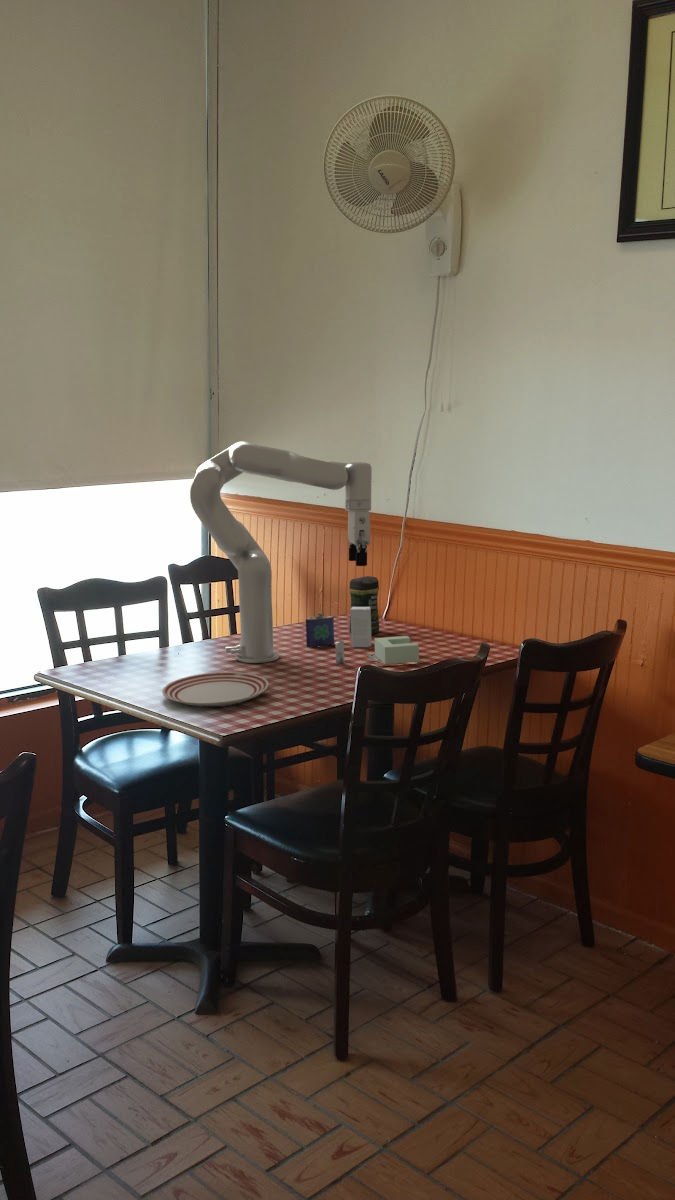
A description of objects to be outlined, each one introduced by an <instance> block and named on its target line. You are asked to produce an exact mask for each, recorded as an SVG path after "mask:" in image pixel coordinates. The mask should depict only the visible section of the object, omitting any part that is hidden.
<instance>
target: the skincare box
mask: <svg viewBox="0 0 675 1200" xmlns="http://www.w3.org/2000/svg"><path fill="white" fill-rule="evenodd" d="M350 614H351V633H350V634H351V637H350V638H351V640H350V641H351V648H369V647H368V646H371V647H372V644H373V643H372V642H373V641H372V640H373V639H372V635H371V607H352V608H351V607H350Z"/></svg>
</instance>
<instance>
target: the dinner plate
mask: <svg viewBox="0 0 675 1200" xmlns="http://www.w3.org/2000/svg"><path fill="white" fill-rule="evenodd" d="M269 686H270V685H269V681H268V679H266V678H265V677H263V676H260V675H257V674H253V673H248V672H247V673H246V672H239V671H236V672H235V671H218V672H217V671H214V672H204V673H199V674H193V675H190V676H185V677H182V678H177V679H175V680H172V681H171V682H170V683H167V684H166V685H165V686H164V687H163V688H162V691H161V692H162V695H163V697H165V698H166V699H168V700H171V701H174V702H176V703H179V704H184V705H188V706H192V705H194V706H193V707H199V706H221V707H226V706H225V705H229V706H233V705H232V704H234V705H237V704H236V703H238V704H241V703H243V701H244V702H246V701H249V700H251V699H254V698H256V697H258V696H260V695H261V694H263V693H264V692H265V691H266V690H267V689H268V688H269ZM240 702H241V703H240Z"/></svg>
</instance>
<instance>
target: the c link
mask: <svg viewBox="0 0 675 1200" xmlns="http://www.w3.org/2000/svg"><path fill="white" fill-rule="evenodd" d="M374 654H375V655H376V656H377V657H378V658H379V659H380V660H381V661H382V662H383V663H385V664H395V663H405V662H419V660H420V645H419V644H418V643H417V642H411V637H409V636H408V635H401V636H390V637H389V636H388V637H385V636H384V637H375V638H374Z"/></svg>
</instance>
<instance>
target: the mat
mask: <svg viewBox="0 0 675 1200" xmlns="http://www.w3.org/2000/svg"><path fill="white" fill-rule="evenodd" d="M371 654H372V653H370V654H366V655H367V656H368V657H369V658H370V659H371V660H375V659H374V658H376V659H379V658H378V657H377V656H376V655H373V656H371ZM367 656H366V657H367ZM368 657H367V658H368ZM369 658H368V659H369ZM370 659H369V660H370ZM371 660H370V661H371ZM376 661H378V660H376ZM378 662H381V661H378ZM374 663H376V665H375V666H376V667H377V666H380V665H378V663H377V662H374ZM374 663H373V664H374ZM381 663H383V662H381ZM417 663H422V664H423V662H422V661H421V660H420V662H417ZM380 668H384V667H383V666H381V667H380Z"/></svg>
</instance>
